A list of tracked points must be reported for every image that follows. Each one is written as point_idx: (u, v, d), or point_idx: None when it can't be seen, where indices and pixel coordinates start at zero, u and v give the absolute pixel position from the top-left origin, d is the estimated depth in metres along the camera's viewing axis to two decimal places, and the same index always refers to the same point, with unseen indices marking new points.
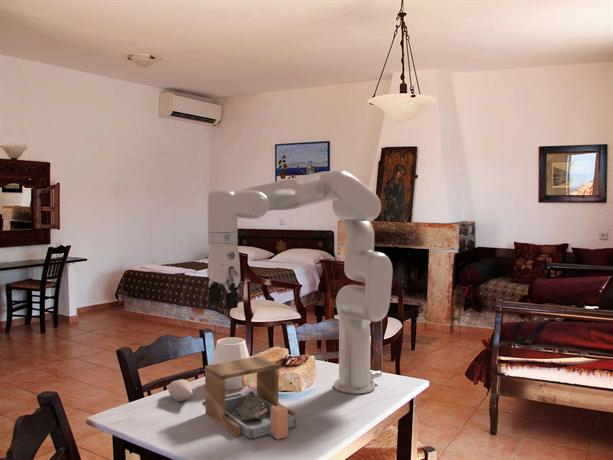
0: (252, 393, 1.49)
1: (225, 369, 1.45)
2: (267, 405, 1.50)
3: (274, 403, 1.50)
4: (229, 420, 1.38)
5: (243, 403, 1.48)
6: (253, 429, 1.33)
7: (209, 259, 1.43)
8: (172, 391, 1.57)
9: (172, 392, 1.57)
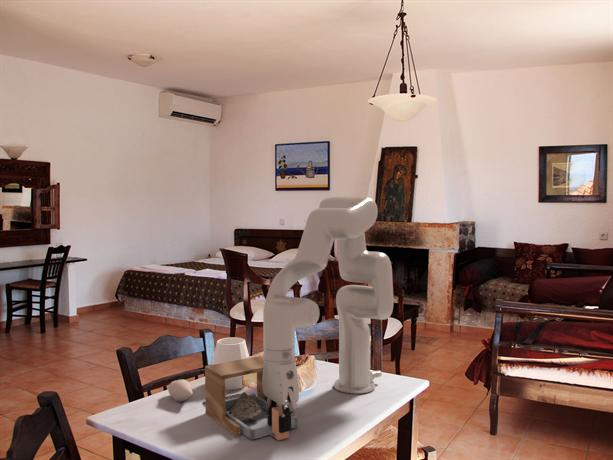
0: (245, 394, 1.48)
1: (225, 369, 1.45)
2: None
3: None
4: (229, 420, 1.38)
5: (236, 404, 1.47)
6: (254, 430, 1.33)
7: (264, 374, 1.35)
8: (172, 391, 1.57)
9: (172, 392, 1.57)
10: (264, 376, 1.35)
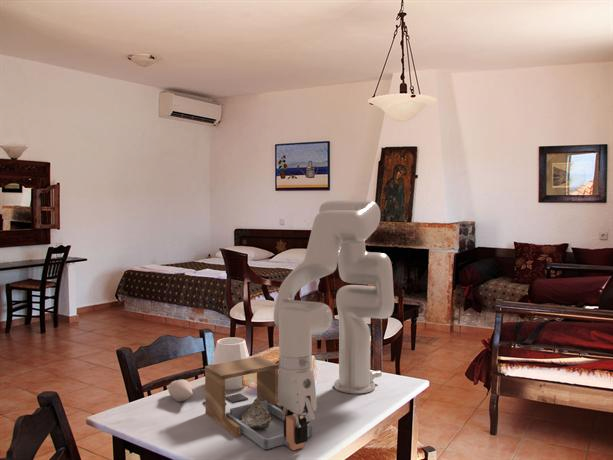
0: (258, 400, 1.44)
1: (225, 369, 1.45)
2: (281, 413, 1.44)
3: (274, 403, 1.50)
4: (229, 420, 1.38)
5: (248, 410, 1.43)
6: (268, 439, 1.28)
7: (279, 382, 1.29)
8: (172, 391, 1.57)
9: (172, 392, 1.57)
10: (280, 384, 1.29)
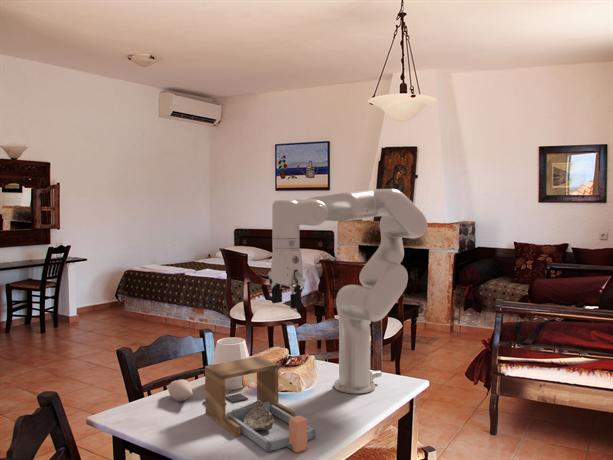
0: (259, 402, 1.43)
1: (225, 369, 1.45)
2: (283, 415, 1.43)
3: (274, 403, 1.50)
4: (229, 420, 1.38)
5: (250, 412, 1.42)
6: (271, 441, 1.26)
7: (273, 263, 1.55)
8: (172, 391, 1.57)
9: (172, 392, 1.57)
10: (273, 265, 1.55)
